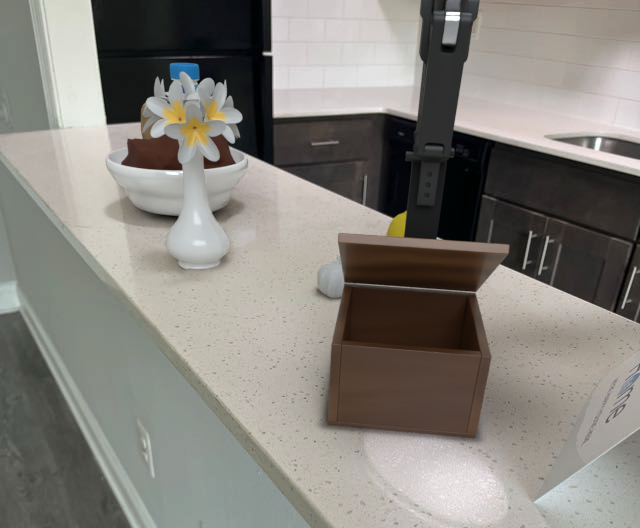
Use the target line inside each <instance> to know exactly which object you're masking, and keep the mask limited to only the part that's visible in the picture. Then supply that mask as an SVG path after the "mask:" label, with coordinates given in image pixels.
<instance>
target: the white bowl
mask: <svg viewBox="0 0 640 528" xmlns="http://www.w3.org/2000/svg"><path fill="white" fill-rule="evenodd" d="M209 137H210V139H211V140H212V141H213V142H214V144H215V145H216V147H217V149H218V151H219V154H220V158H219V160H218V161H211V160H209V159H207V158H206V157H205V156H204V174H205V184H206V193H207V199H208V203H209V207H210V209H211V212H212V213H213V212H216V211H219V210H221V209H223V208H224V207H225V206H227V205H228V204H229V203H230V200H231V198H232V196H233V193H234V190H235V188H236V187H237V186H238V185H239V184H240V182H241V181H242V179H243V178H244V177H245V175H246V173H247V170H248V167H249V160H248V157H247V156H246V154H245V153H243V152H242V151H240V150H237V149H235V148H231V147H230V145H229V141H228V140H227V139H226V138H225V137H224V136H223V135H222V134H220V135H218V136H215V137H211V136H209ZM179 148H180V147H179V143H178V139H173V138H171V137H169V136H167V135H166V134H164V135H162V136H160V137H157V138H151V139H143V138H136V137H135V138H127V139H126V147H121V148H118V149H115V150H113V151H110V152H109V153H108V154H107V155H106V157H105V159H104V160H105V161H104V162H105V167H106V169H107V171H108V173H109V174H110V176H111V177H112V178H113V180H114V182H116V183H117V184H118V185H119V186H120V187H121V188H122V189H123V190H124V191H125V193H126V195H127V197H128V199H129V200H130V202H131V203H132V204H133V206H135V207H136V208H138V209H139V210H141V211H143V212H147V213H150V214H154V215H162V216H173V217H179V215H180V212H181V209H182V204H183V170H182V164H181V163H180V162H179V160H178V151H179Z"/></svg>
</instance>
